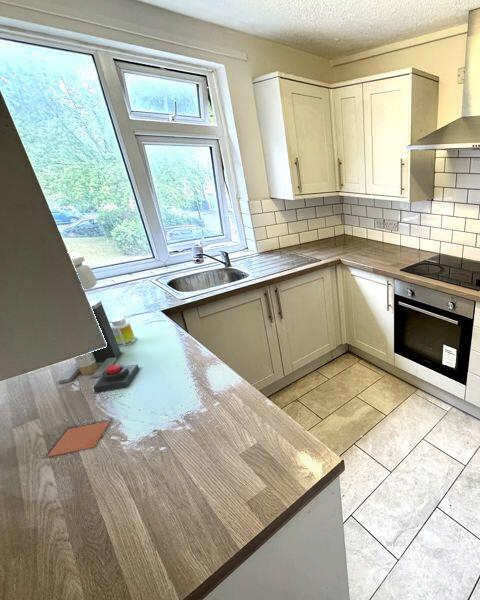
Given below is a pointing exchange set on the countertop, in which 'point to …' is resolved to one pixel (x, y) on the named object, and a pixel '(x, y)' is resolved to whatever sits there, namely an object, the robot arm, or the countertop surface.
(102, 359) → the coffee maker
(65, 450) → the coaster
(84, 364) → the sprinkles bottle
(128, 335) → the supplement bottle
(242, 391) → the countertop surface
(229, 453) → the countertop surface
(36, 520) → the countertop surface
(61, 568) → the countertop surface
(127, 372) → the power switch
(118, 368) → the power button
